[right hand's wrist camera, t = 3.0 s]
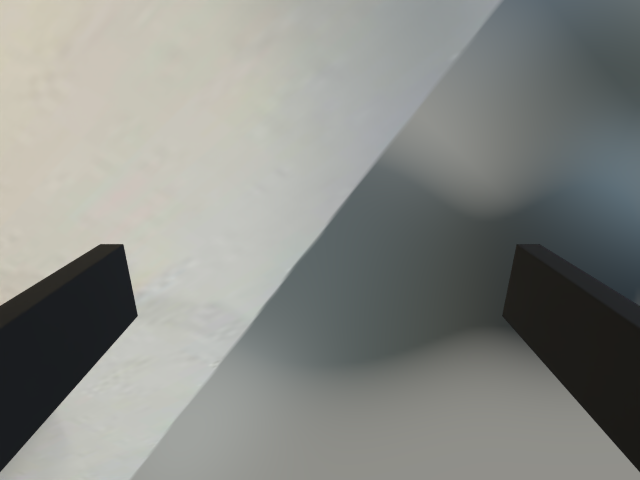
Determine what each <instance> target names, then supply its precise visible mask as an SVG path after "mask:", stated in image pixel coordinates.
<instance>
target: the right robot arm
mask: <svg viewBox="0 0 640 480" xmlns="http://www.w3.org/2000/svg"><path fill="white" fill-rule="evenodd" d="M137 316H138V315H137V310H136V305H135V300H134V295H133V290H132V285H131V280H130V275H129V270H128V265H127V260H126V255H125V250H124V245H123V244H100V245H98V246H97V247H95V248H94V249H92V250H90V251H89V252H87V253H85V254H84V255H82V256H81V257H79V258H77V259H76V260H74V261H72V262H71V263H69V264H68V265H66V266H64V267H63V268H61V269H59V270H58V271H56V272H55V273H53V274H51V275H50V276H48V277H46V278H45V279H43V280H42V281H40V282H38V283H37V284H35V285H33V286H32V287H30V288H29V289H27V290H25V291H24V292H22V293H20V294H19V295H17V296H16V297H14V298H12V299H11V300H9V301H7V302H6V303H4V304H3V305H1V306H0V472H1V471H2V469H3V468H4V467H5V466H6V465H7V464H8V463H9V461H10V460H11V459H12V458H13V457H14V456H15V455H16V453H17V452H18V451H19V450H20V449H21V448H22V447H23V446H24V444H25V443H26V442H27V441H28V440H29V439H30V438H31V436H32V435H33V434H34V433H35V432H36V431H37V430H38V429H39V427H40V426H41V425H42V424H43V423H44V422H45V421H46V419H47V418H48V417H49V416H50V415H51V414H52V413H53V411H54V410H55V409H56V408H57V407H58V406H59V405H60V404H61V402H62V401H63V400H64V399H65V398H66V397H67V396H68V394H69V393H70V392H71V391H72V390H73V389H74V388H75V387H76V385H77V384H78V383H79V382H80V381H81V380H82V379H83V377H84V376H85V375H86V374H87V373H88V372H89V371H90V370H91V368H92V367H93V366H94V365H95V364H96V363H97V362H98V360H99V359H100V358H101V357H102V356H103V355H104V354H105V352H106V351H107V350H108V349H109V348H110V347H111V346H112V345H113V343H114V342H115V341H116V340H117V339H118V338H119V337H120V335H121V334H122V333H123V332H124V331H125V330H126V329H127V328H128V326H129V325H130V324H131V323H132V322H133V321H134V320H135V318H136V317H137ZM502 316H503V317H504V318H505V319H506V321H507V322H508V323H509V324H510V325H511V326H512V328H513V329H514V330H515V331H516V332H517V333H518V334H519V335H520V337H521V338H522V339H523V340H524V341H525V342H526V343H527V345H528V346H529V347H530V348H531V349H532V350H533V351H534V352H535V354H536V355H537V356H538V357H539V358H540V359H541V360H542V362H543V363H544V364H545V365H546V366H547V367H548V368H549V370H550V371H551V372H552V373H553V374H554V375H555V376H556V377H557V379H558V380H559V381H560V382H561V383H562V384H563V385H564V387H565V388H566V389H567V390H568V391H569V392H570V393H571V394H572V396H573V397H574V398H575V399H576V400H577V401H578V402H579V404H580V405H581V406H582V407H583V408H584V409H585V410H586V411H587V413H588V414H589V415H590V416H591V417H592V418H593V419H594V421H595V422H596V423H597V424H598V425H599V426H600V427H601V428H602V430H603V431H604V432H605V433H606V434H607V435H608V436H609V438H610V439H611V440H612V441H613V442H614V443H615V444H616V446H617V447H618V448H619V449H620V450H621V451H622V452H623V453H624V455H625V456H626V457H627V458H628V459H629V460H630V461H631V463H632V464H633V465H634V466H635V467H636V468H637V469H638V471H639V472H640V306H639V305H637V304H636V303H634V302H633V301H631V300H629V299H628V298H626V297H624V296H623V295H621V294H620V293H618V292H616V291H615V290H613V289H611V288H610V287H608V286H607V285H605V284H603V283H602V282H600V281H598V280H597V279H595V278H594V277H592V276H590V275H589V274H587V273H585V272H584V271H582V270H581V269H579V268H577V267H576V266H574V265H572V264H571V263H569V262H568V261H566V260H564V259H563V258H561V257H559V256H558V255H556V254H555V253H553V252H551V251H550V250H548V249H546V248H545V247H543V246H542V245H540V244H517V245H516V250H515V255H514V260H513V265H512V270H511V275H510V280H509V285H508V290H507V295H506V300H505V305H504V310H503V315H502Z"/></svg>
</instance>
